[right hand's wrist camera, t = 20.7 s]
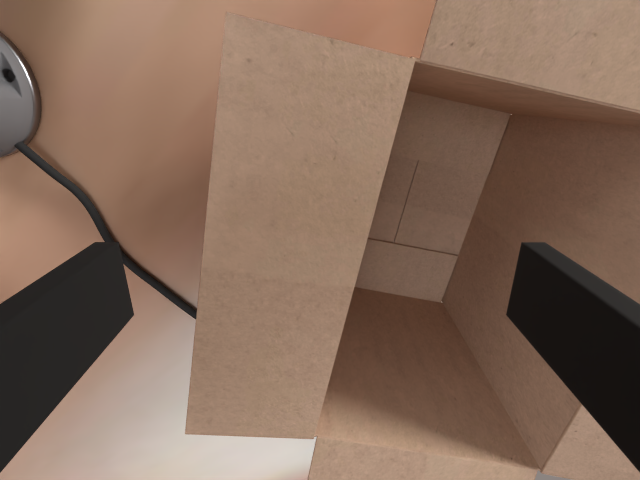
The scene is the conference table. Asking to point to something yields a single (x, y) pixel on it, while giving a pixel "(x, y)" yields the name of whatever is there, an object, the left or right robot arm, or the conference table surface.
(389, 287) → the box
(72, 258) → the right robot arm
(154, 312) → the conference table surface
